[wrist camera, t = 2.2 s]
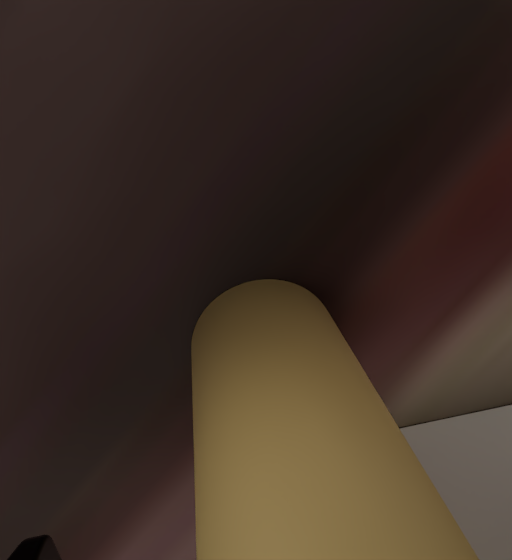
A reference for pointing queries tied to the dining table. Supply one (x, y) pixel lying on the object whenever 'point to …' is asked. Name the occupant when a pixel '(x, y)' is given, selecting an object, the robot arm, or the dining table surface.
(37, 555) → the robot arm
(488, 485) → the socket box
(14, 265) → the dining table surface
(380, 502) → the peg
